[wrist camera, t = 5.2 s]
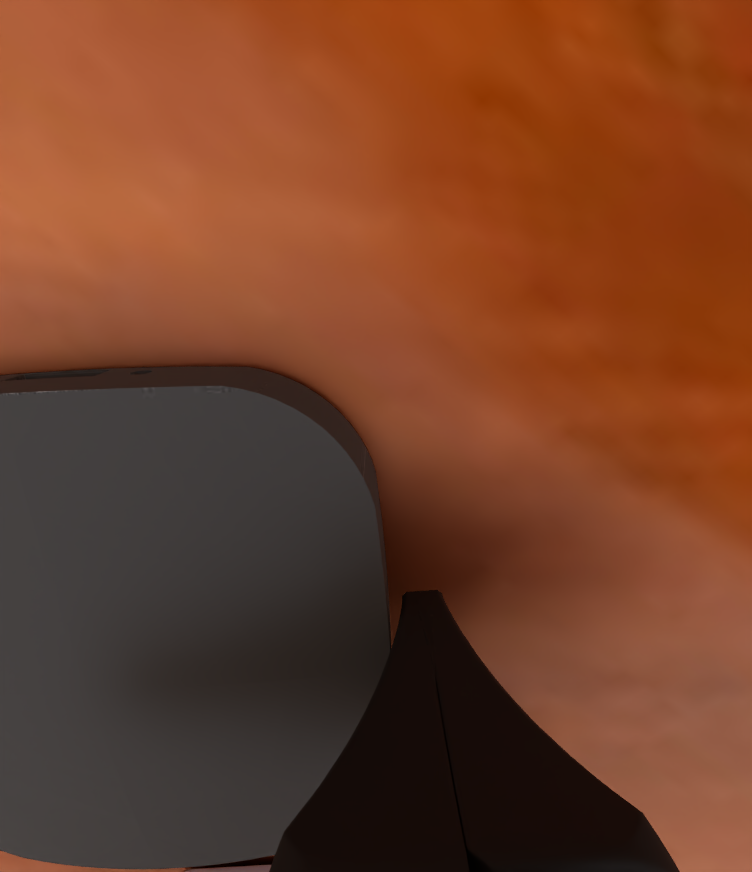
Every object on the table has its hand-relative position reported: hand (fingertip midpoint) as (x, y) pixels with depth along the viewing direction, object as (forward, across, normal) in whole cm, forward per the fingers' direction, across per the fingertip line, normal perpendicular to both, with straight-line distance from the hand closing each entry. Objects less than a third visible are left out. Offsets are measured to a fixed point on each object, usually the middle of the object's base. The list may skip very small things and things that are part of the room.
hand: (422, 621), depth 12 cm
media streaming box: (+2, +8, 0) cm, 8 cm away
